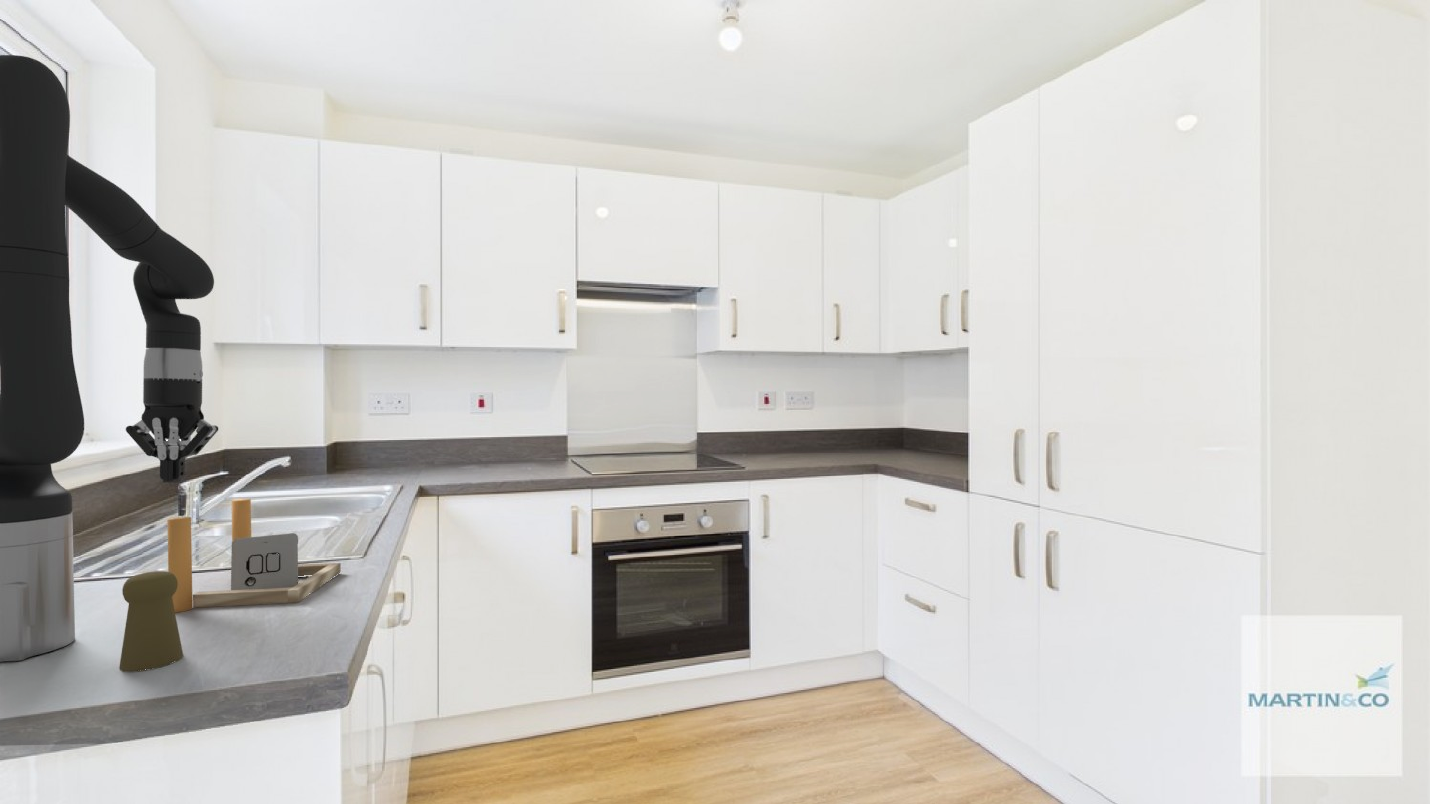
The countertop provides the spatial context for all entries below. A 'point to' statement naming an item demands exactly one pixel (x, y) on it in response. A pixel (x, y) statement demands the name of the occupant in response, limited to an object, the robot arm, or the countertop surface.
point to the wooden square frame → (273, 595)
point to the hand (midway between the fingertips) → (172, 482)
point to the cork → (150, 622)
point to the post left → (180, 561)
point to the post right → (241, 518)
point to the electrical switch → (265, 562)
